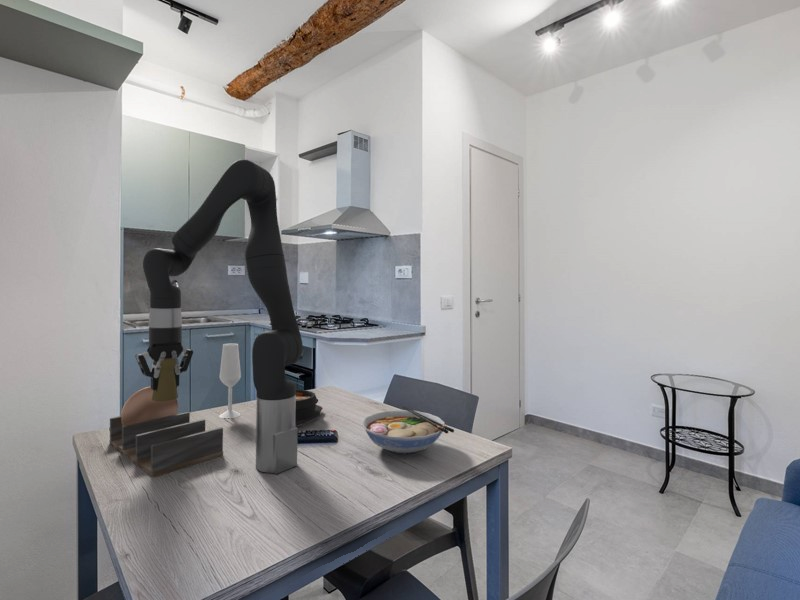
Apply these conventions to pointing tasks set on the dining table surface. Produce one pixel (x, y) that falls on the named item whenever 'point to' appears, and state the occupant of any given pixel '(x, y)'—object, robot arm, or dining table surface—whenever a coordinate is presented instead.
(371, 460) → the dining table surface
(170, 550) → the dining table surface
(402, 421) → the ramen bowl
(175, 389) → the cork
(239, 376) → the champagne flute
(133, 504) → the dining table surface
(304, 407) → the casserole
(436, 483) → the dining table surface
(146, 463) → the rack
